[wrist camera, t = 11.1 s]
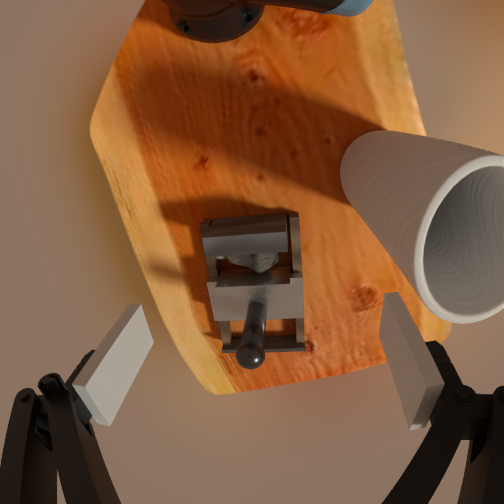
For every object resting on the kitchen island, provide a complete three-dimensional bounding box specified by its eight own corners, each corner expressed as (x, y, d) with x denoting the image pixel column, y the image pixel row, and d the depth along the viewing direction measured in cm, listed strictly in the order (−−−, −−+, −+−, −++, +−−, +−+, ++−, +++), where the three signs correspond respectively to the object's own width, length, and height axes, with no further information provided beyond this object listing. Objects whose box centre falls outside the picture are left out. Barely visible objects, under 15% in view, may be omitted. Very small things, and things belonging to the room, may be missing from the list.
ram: (211, 269, 56) (183, 329, 40) (301, 264, 54) (306, 326, 38) (218, 308, 60) (196, 374, 43) (303, 305, 58) (307, 373, 41)
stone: (214, 251, 57) (229, 291, 53) (206, 239, 52) (222, 282, 48) (265, 229, 57) (283, 268, 54) (262, 215, 52) (282, 256, 49)
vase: (426, 142, 44) (563, 183, 15) (407, 222, 50) (508, 330, 21) (346, 120, 44) (439, 122, 16) (329, 205, 50) (382, 319, 21)
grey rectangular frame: (203, 220, 53) (188, 238, 45) (298, 212, 51) (300, 230, 43) (225, 341, 63) (218, 371, 55) (304, 338, 61) (305, 369, 53)
